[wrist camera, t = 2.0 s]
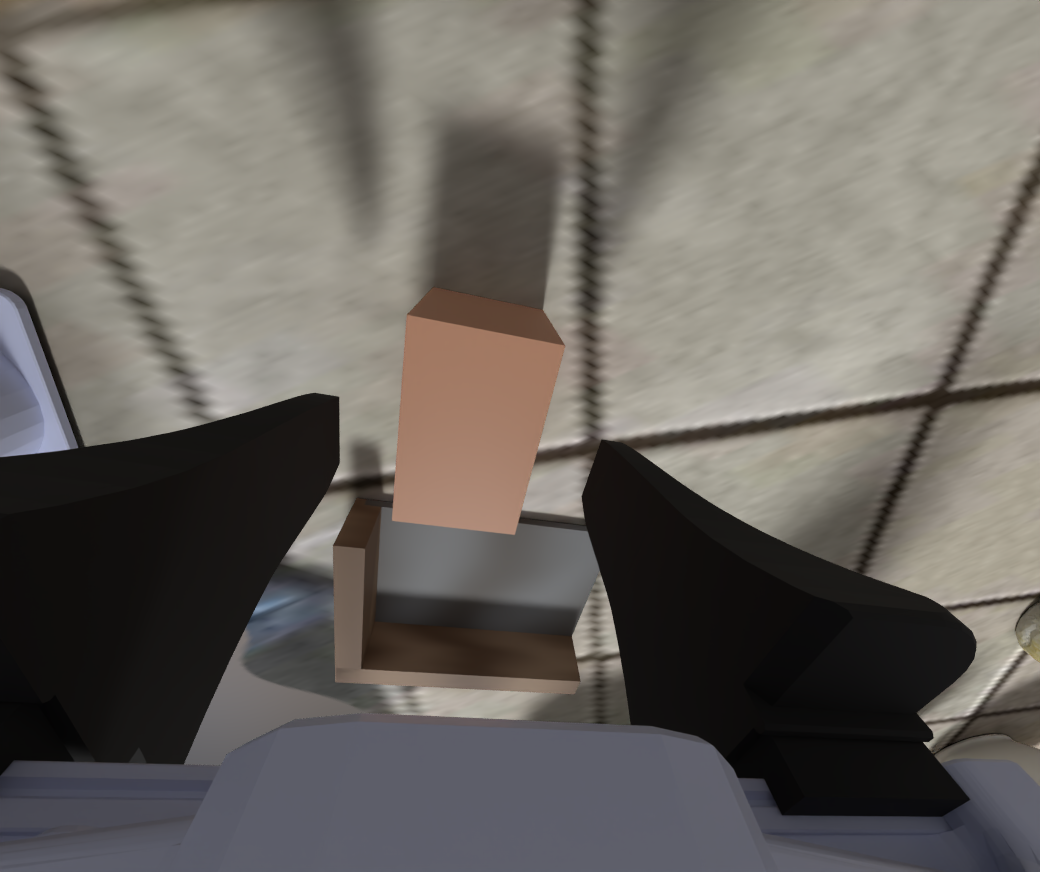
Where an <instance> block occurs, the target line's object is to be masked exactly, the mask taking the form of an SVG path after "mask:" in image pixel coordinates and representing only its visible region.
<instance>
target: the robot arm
mask: <svg viewBox="0 0 1040 872" xmlns="http://www.w3.org/2000/svg"><path fill="white" fill-rule="evenodd" d="M339 463H340V445H339V397H337V396H331V395H325V394H319V393H310V394H305V395H301V396H298V397H294V398H291V399H288V400H284V401H281V402H278V403H275V404H272V405H269V406H265V407H262V408H259V409H256V410H253V411H249V412H246V413H243V414H239V415H236V416H232V417H229V418H225V419H222V420H218V421H214V422H211V423H207V424H204V425H200V426H196V427H192V428H188V429H184V430H179V431H175V432H170V433H165V434H160V435H155V436H150V437H145V438H140V439H135V440H129V441H123V442H116V443H109V444H103V445H96V446H89V447H82V448H78V445H77V443H76V440H75V437H74V434H73V432H72V429H71V426H70V423H69V421H68V418H67V415H66V412H65V410H64V407H63V404H62V402H61V399H60V396H59V393H58V391H57V388H56V385H55V382H54V380H53V377H52V374H51V371H50V369H49V366H48V363H47V361H46V358H45V355H44V352H43V350H42V347H41V344H40V341H39V339H38V336H37V333H36V330H35V328H34V325H33V322H32V319H31V317H30V314H29V311H28V309H27V306H26V304H25V303H24V301H23V300H22V299H21V298H20V297H19V296H18V295H16V294H15V293H13V292H11V291H9V290H6V289H3V288H0V872H1040V786H1039V785H1038V784H1037V783H1036V782H1035V781H1034V780H1033V779H1032V778H1031V777H1030V776H1029V775H1028V774H1027V773H1026V772H1025V771H1024V769H1023V768H1022V767H1021V766H1020V765H1019V764H1018V763H1015V762H1012V761H1010V760H997V759H970V758H961V759H953V760H950V761H946V762H943V763H940V762H939V761H938V760H937V759H936V757H935V756H934V755H933V754H932V753H931V751H930V750H929V749H928V748H927V747H926V745H925V744H924V743H923V742H929V741H930V740H932V739H933V738H934V737H933V732H932V731H931V729H930V728H929V727H928V726H927V725H926V724H925V722H924V721H923V720H922V719H921V718H920V717H919V716H918V714H917V712H918V711H919V710H920V709H921V708H923V707H924V706H925V705H926V704H928V703H929V702H930V701H931V700H933V699H934V698H935V697H936V696H938V695H939V694H940V693H941V692H943V691H944V690H945V689H946V688H948V687H949V686H950V685H951V684H953V683H954V682H955V681H956V680H957V679H958V678H959V677H960V676H961V675H962V674H963V673H964V672H965V671H966V670H967V669H968V667H969V666H970V664H971V663H972V661H973V660H974V657H975V652H976V639H975V637H974V635H973V632H972V631H971V630H970V629H969V628H968V627H966V626H965V625H964V624H963V623H962V622H961V621H959V620H958V619H957V618H956V617H955V616H954V615H952V614H951V613H950V612H949V611H948V610H947V609H945V608H944V607H943V606H941V605H940V604H938V603H936V602H935V601H933V600H931V599H929V598H927V597H925V596H922V595H919V594H916V593H913V592H911V591H908V590H905V589H902V588H899V587H896V586H893V585H890V584H887V583H885V582H882V581H879V580H876V579H873V578H870V577H867V576H864V575H862V574H859V573H856V572H853V571H851V570H848V569H846V568H843V567H841V566H838V565H836V564H833V563H831V562H828V561H826V560H823V559H821V558H818V557H816V556H814V555H811V554H809V553H807V552H805V551H802V550H800V549H798V548H795V547H793V546H791V545H789V544H787V543H785V542H783V541H781V540H778V539H776V538H774V537H772V536H770V535H768V534H766V533H764V532H762V531H760V530H758V529H756V528H754V527H752V526H750V525H748V524H746V523H745V522H743V521H741V520H739V519H738V518H736V517H734V516H732V515H730V514H729V513H727V512H725V511H723V510H722V509H720V508H718V507H717V506H715V505H713V504H712V503H710V502H708V501H707V500H705V499H704V498H702V497H701V496H699V495H698V494H696V493H695V492H693V491H692V490H690V489H689V488H687V487H686V486H684V485H683V484H681V483H680V482H679V481H677V480H676V479H674V478H673V477H672V476H670V475H669V474H667V473H666V472H665V471H663V470H662V469H660V468H659V467H658V466H656V465H655V464H654V463H652V462H651V461H649V460H648V459H647V458H645V457H644V456H643V455H641V454H640V453H638V452H637V451H635V450H634V449H632V448H631V447H629V446H627V445H625V444H623V443H621V442H614V441H608V440H601V443H600V446H599V449H598V451H597V454H596V457H595V460H594V463H593V466H592V468H591V471H590V474H589V477H588V480H587V483H586V485H585V488H584V491H583V494H582V503H583V510H584V517H585V522H586V527H587V531H588V534H589V537H590V541H591V544H592V547H593V551H594V554H595V557H596V560H597V563H598V566H599V569H600V573H601V576H602V579H603V582H604V585H605V588H606V592H607V595H608V599H609V602H610V606H611V610H612V615H613V620H614V625H615V630H616V635H617V640H618V645H619V651H620V657H621V663H622V669H623V674H624V680H625V686H626V694H627V701H628V708H629V715H630V722H631V725H616V724H594V723H571V722H549V721H527V720H505V719H483V718H461V717H439V716H417V715H395V714H373V713H357V714H346V715H335V716H325V717H314V718H303V719H295V720H292V721H290V722H288V723H286V724H284V725H282V726H280V727H278V728H276V729H274V730H272V731H270V732H268V733H266V734H263V735H261V736H259V737H257V738H255V739H253V740H251V741H249V742H247V743H245V744H244V745H242V746H240V747H238V748H237V749H235V750H233V751H232V752H230V753H228V754H226V756H225V758H224V760H223V762H222V764H221V765H184V763H185V760H186V757H187V756H188V753H189V751H190V748H191V746H192V744H193V741H194V739H195V736H196V734H197V732H198V730H199V727H200V725H201V722H202V720H203V718H204V716H205V713H206V711H207V709H208V707H209V705H210V702H211V700H212V698H213V696H214V694H215V691H216V689H217V687H218V685H219V683H220V681H221V678H222V676H223V674H224V672H225V670H226V667H227V665H228V663H229V661H230V659H231V657H232V655H233V652H234V651H235V648H236V646H237V644H238V642H239V640H240V638H241V636H242V634H243V632H244V630H245V628H246V626H247V624H248V622H249V620H250V618H251V616H252V614H253V612H254V610H255V608H256V606H257V604H258V602H259V600H260V598H261V596H262V594H263V592H264V590H265V588H266V587H267V585H268V583H269V581H270V579H271V577H272V575H273V574H274V572H275V570H276V569H277V567H278V565H279V564H280V562H281V560H282V559H283V557H284V556H285V554H286V553H287V551H288V550H289V548H290V547H291V545H292V544H293V542H294V541H295V539H296V538H297V536H298V535H299V533H300V532H301V530H302V529H303V527H304V526H305V524H306V523H307V521H308V520H309V518H310V517H311V515H312V514H313V512H314V511H315V509H316V508H317V506H318V505H319V503H320V502H321V500H322V498H323V497H324V495H325V494H326V492H327V490H328V488H329V486H330V483H331V481H332V479H333V477H334V475H335V472H336V470H337V468H338V466H339Z"/></svg>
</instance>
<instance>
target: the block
mask: <svg viewBox="0 0 1040 872" xmlns="http://www.w3.org/2000/svg"><path fill="white" fill-rule="evenodd" d="M564 348H565V345H564V343H563V341H562V340H561V338H560V337H559V335H558V333H557V332H556V330H555V329H554V327H553V325H552V324H551V322H550V321H549V319H548V317H547V316H546V314H545V313H544V311H543V310H541V309H536V308H531V307H526V306H522V305H517V304H512V303H507V302H502V301H498V300H493V299H488V298H483V297H479V296H474V295H469V294H464V293H459V292H455V291H450V290H445V289H440V288H435V287H433V288H432V289H431V290H430V291H429V292H428V293H427V294H426V295H425V296H424V297H423V298H422V299H421V301H420V302H419V303H418V304H417V305H416V306H415V307H414V308H413V309H412V310H411V311H410V312H409V313H408V314H407V320H406V334H405V348H404V361H403V375H402V389H401V402H400V416H399V430H398V443H397V457H396V471H395V484H394V498H393V512H392V521H398V522H406V523H415V524H424V525H433V526H442V527H450V528H459V529H468V530H477V531H485V532H494V533H503V534H512V535H515V532H516V528H517V525H518V521H519V517H520V513H521V510H522V506H523V502H524V498H525V495H526V491H527V487H528V483H529V480H530V476H531V472H532V468H533V465H534V461H535V457H536V453H537V450H538V446H539V442H540V438H541V435H542V431H543V427H544V423H545V420H546V416H547V412H548V408H549V405H550V401H551V397H552V393H553V390H554V386H555V382H556V378H557V375H558V371H559V367H560V363H561V360H562V356H563V352H564Z"/></svg>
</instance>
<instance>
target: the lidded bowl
mask: <svg viewBox="0 0 1040 872" xmlns="http://www.w3.org/2000/svg"><path fill="white" fill-rule="evenodd" d="M934 756H935V757H936V759H937V760H938V761H939V762H940V763H943V762H946V761H950V760H953V759H961V758H970V759H997V760H1010V761H1012V762H1015V763H1018V764H1019V765H1020V766H1021V767H1022V768H1023V769H1024V771H1025V772H1026V773H1027V774H1028V775H1029V776H1030V777H1031V778H1032V779H1033V780H1034V781H1035V782H1036V783H1037V784H1038V785H1039V786H1040V749H1037V748H1035V747H1032V746H1029V745H1026V744H1022V743H1019V742H1015V741H1013V740H1012V739H1011V738H1010V737H1009V736H1007V735H1004V734H987V735H981V736H976V737H972V738H968V739H965V740H962V741H960V742H957V743H954V744H952V745H950V746H948V747H946V748H944V749H942V750H941V751H939V752H938V753H936V754H935V755H934Z"/></svg>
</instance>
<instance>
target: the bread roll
mask: <svg viewBox="0 0 1040 872" xmlns="http://www.w3.org/2000/svg"><path fill="white" fill-rule="evenodd" d="M1016 636H1017V639H1018V643H1019V644H1020V646H1021V647H1022V648H1023V649H1024V650H1025V651H1026V652H1027V653H1028V654H1029V655H1031V656H1032V657H1033V658H1034V659H1035V660H1037V661H1038V662H1040V601H1039V602H1037V603H1036V604H1034V605H1033V606H1031V607H1030V608H1029V609H1028V610H1027V611H1026V612H1025V613H1024V614H1023V615H1022V617H1021V618H1020V620H1019V622H1018V624H1017V628H1016Z"/></svg>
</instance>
